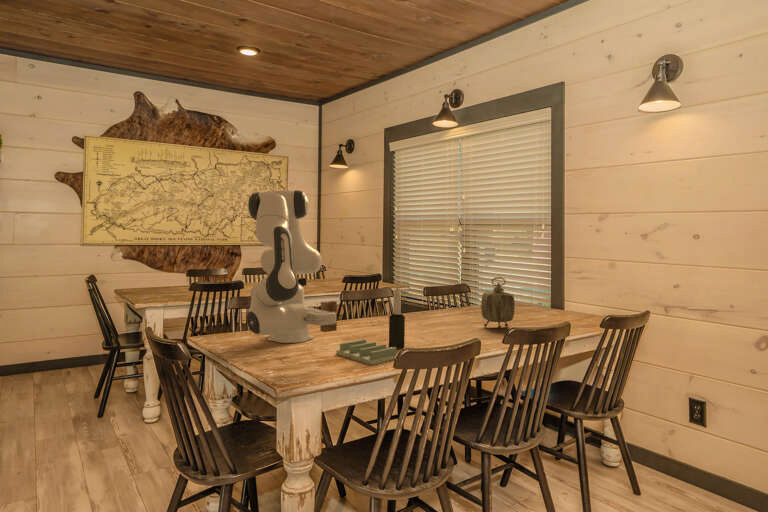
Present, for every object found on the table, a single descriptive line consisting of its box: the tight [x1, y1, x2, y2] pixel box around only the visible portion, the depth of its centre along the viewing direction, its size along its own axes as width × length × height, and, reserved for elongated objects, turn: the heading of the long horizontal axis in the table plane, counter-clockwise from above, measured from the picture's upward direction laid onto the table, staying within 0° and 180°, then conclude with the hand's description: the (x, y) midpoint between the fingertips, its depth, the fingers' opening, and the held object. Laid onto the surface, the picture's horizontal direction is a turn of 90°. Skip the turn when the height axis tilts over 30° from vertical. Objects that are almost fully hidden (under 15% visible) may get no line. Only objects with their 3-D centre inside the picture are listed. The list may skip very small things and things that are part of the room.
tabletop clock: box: [480, 276, 516, 329], centre depth 237 cm, size 14×9×25 cm, turn 97°
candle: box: [388, 284, 406, 349], centre depth 194 cm, size 5×5×25 cm
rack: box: [335, 338, 398, 366], centre depth 179 cm, size 14×20×4 cm
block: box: [319, 300, 338, 333], centre depth 167 cm, size 5×2×10 cm, turn 133°
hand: (330, 313), depth 167 cm, fingers closed on block, 2 cm apart
